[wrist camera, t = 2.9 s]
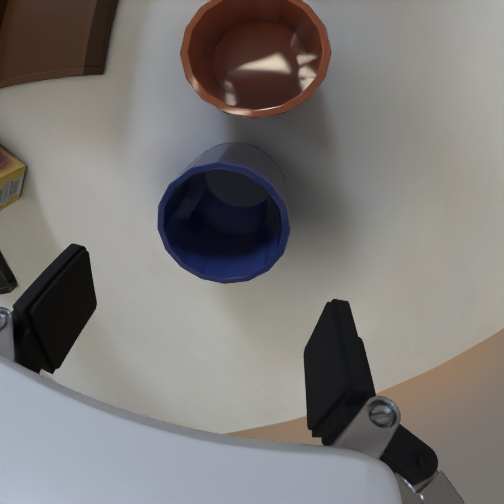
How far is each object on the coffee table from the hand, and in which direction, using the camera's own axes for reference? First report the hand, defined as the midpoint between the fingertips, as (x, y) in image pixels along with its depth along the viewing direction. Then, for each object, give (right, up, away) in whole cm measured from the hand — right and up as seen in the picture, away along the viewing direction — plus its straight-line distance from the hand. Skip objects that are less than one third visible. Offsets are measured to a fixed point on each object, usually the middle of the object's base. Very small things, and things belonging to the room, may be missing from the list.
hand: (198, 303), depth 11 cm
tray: (-14, +24, 0) cm, 27 cm away
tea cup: (+2, +14, +5) cm, 15 cm away
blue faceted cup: (+1, +6, +9) cm, 11 cm away
